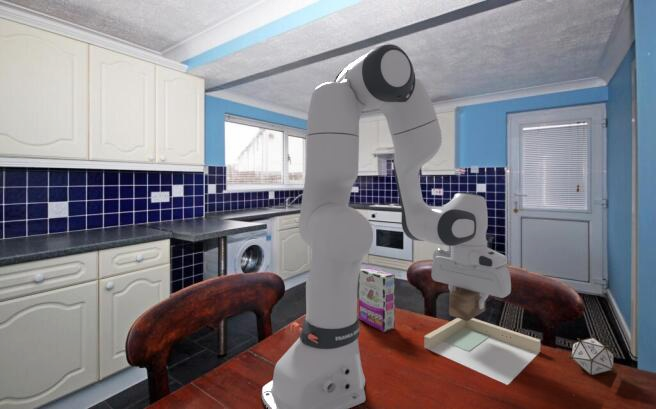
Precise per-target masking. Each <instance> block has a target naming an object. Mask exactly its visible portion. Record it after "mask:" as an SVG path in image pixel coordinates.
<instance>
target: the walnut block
mask: <svg viewBox="0 0 656 409" xmlns="http://www.w3.org/2000/svg"><path fill="white" fill-rule="evenodd" d="M448 295H449V300H448V301H449V302H448V304H449V305H448V306H449V308H448V315H449V316H451V317H454V318H455V319H456V318H459V319H462V320H465V321H469V320H470V319H472V318H474V319H475V317H477V316H479V315H481V314H482V313H484V312H485V311H486V302H487V299H486V300H485V301H484V308H483V309H479V308H476V307H475V305H476V304H475V301H477V300H480V299H481V298H482V297H481V296H480V292H476V291H472V290H468V289H465V288H461V287H458V288H456V290H455V291H453V292H450V291H449V294H448Z"/></svg>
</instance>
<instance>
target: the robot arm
mask: <svg viewBox="0 0 656 409" xmlns="http://www.w3.org/2000/svg"><path fill="white" fill-rule="evenodd" d="M377 109H378V110H379V111H380V112H381V113H382V114H383V116H384V117H385V119H386V122H387V125H388V131H389V134H390V137H391V140H392V145H393V151H394V156H393V159H392V160H393V163H392V164H393V166H392V167H393V174H394V179H395V183H396V188H397V192H398V197H399V202H400V208H401V209H400V210H401V227H402V231H403V234H405V235H406V237H407V238H409V239H410V240H413V241H419V242H427V243H432V244H434V245H435V244H436V245H440V246H446V247H450V250H448V249H441V248H438V249H436V250H435V251H433V252H432V267H431V279H432V280H433V281H434V282H438V283H442V284H445V285H448V286H447V287H448V291H449V293H450V292H453V291H455V290H457V288H465V289H468V290H472V291H476V292H480V296H481V297H482V298H481V299H480V300H477V301H475V304H476V305H475V307H476V308H479V309H483V308H484V301H485V300H486V301H487V299H488V298H489V296H493V297H496V298H500V299H503V298H505V297H508V296H509V295H510V294H511V291H512V282H511V279H512V278H511V274H510V273H511V272H510V269H509V268H508V267H507V266H506V264H508V256H506V255H504V254H502V253H500V252H498V251H496V250H494V249H492V248H490V247H488V240H487V230H488V226H489V225H488V223H489V222H488V221H489V220H488V206H487V201H486V199H485V197H484V196H482V195H480V194H477V193H470V192H458V193H455V194H454V195H453V197H452V199H451V200H450V201H449V202H447V203H446V204H443V205H442V206H433V205H428V204H427V203H426V202H425V201H424V198H423V194H422V187H421V182H420V178H419V174H420V170H421V168H422V167H423V166H424V165H425V164H427V163H428V162H429V161H431V160H432V159H433V158H434V157H435V156H436V155H437V153H438V152H439V150H440V149H441V146H442V143H443V141H442V138H443V137H442V130H441V127H440V126H441V125H440V123H439V119H438V115H437V114H436V113H437V112H436V110H435V108H434V104H433V102H432V98H431V96H430V95H429V92H428V91H427V89H426V87H425V85H424V83H423V82H422V81H421V80H420V79H418V78H416V73H415V71H414V65H413V63H412V61H411V59H410V58H409V56H408V54H407V53H406V52H405V50H403V49H402V48H401V47H400V46H398V45H397V44H390V43H389V44H384V45H383V44H382V45H380V46H379V45H378V46H377V47H375V48H372V49H371V50H370V51H368V52H367V53H365V54H363V55H362V56H360V57H358V58H356V59H354V60H353V61H352V62H351V63H350V64H348V66H346V67H345V68H344V69H343V70H341V71H340V72H339V73H338V74H337V75H336V77H335V78H334V81H329V82H324V83H321V84H320V85H318V86H317V87H316V88H315V89H314V90H313V92H312V94H311V97H310V102H309V107H308V112H307V113H308V114H307V122H306V142H305V143H306V145H305V146H306V147H305V148H306V150H305V154H306V155H305V177H304V185H303V191H302V197H301V205H300V213H299V218H298V221H297V222H298V224H297V225H298V231H299V234H300V237H301V238H302V240H303V241H304V243H306V245H308V246H309V247H310V250H311V262H310V266H309V267H310V268H309V274H308V277H307V279H306V281H305V300H306V301H305V303H306V304H305V305H306V306H305V308H306V310H305V311H306V315H305V317H304V321H303V322H302V324H299V323H298V322H296V321H294V322H292V323H291V325H290V327H289V328H290V331H291V332H292V333H294V334H295V335H299V336H298V337H299V338H297V340H296V341H295V342H294V343H292V345H291V346H290V348H289V349H288V350H287V351H286V352H285V353H284V354H283V355H282V356H281V358H279V360H277V362H276V364H275V366H274V370H273V376H272V380H271V381H269V382H267V383H266V384H265V385H264V386H262V389H261V400H262V402H263V404H264V406H265V405H266V406H265V408H267V407H268V409H350V408H351V409H352V408H353V407H356V406H358V405H360V404H362V403H365V401H366V391H365V385H366V378H365V375H364V374H365V373H364V372H363V366H362V361H361V354H360V347H359V339H358V338H359V337H360V331H361V330H360V329H361V328H360V327H361V326H360V320H359V314H358V286H359V273H360V269H362V263H363V259H364V257H365V256H366V255H367V254H368V253H369V251H370V250H371V248H372V245H373V242H374V232H373V231H374V230H373V227H372V225H371V223H370V221H369V220H368V218H366V217H365V216H364V215H363V214H362V213H361V212H360V211H358V210H357V209H355V208H354V207H351V206H349V204H350V203H349V202H350V199H351V198H350V197H351V195H352V194H351V193H352V190H353V187H354V184H355V182H356V180H357V178H358V176H359V161H360V160H359V158H360V154H359V152H360V119H361V116H362V113H365V112H367V111H370V110H373V111H374V110H377Z"/></svg>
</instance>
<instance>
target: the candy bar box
mask: <svg viewBox="0 0 656 409" xmlns="http://www.w3.org/2000/svg"><path fill="white" fill-rule="evenodd" d="M395 290H396V275H395V274H393V273H391V272H387V271H383V270H379V269H377V268H373V267H364V268H360V273H359V278H358V304H359V305H358V310H359V311H358V313H359V314H358V317H359V319H360V320H362V321H364V322H365V323H364V322H363V323H364V324H366V323H367V324H366V325H368V324H369V326H370V325H371V326H370V327H372V326H373V328H374V329H377V330H379V331H381V332H383V333H386V332H388V331H391V330H394V329H395V327H396V326H395V325H396V323H395V321H396V315H395V314H396V310H395V309H396V303H395V302H396V300H395V299H396V291H395ZM360 320H359V321H360ZM362 321H361V322H362Z"/></svg>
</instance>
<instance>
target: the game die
mask: <svg viewBox="0 0 656 409" xmlns="http://www.w3.org/2000/svg"><path fill="white" fill-rule="evenodd" d="M595 337H596V336H595V335H594V333H593V334H592V335H591V337H590V338H585V339H581V338H579V337H577V338H576V339H577V341H576V342H572V341H569V344H570V345H572V349H571V350H572V351H571V356H570V355H569V356H568V357H567V359H569V360H571V359H572V360H573V361H574V362H575V363H577V365H578V366H580V367H581V369H583V370H584V371H585V372H586V373H588V375H590V376H595V375H600V374H603V373H606V372H610V371H613V372H614V373H618V371H617V369H616V368H614V356H616V357H617V356H618V353H617V352H614V353H613V352H612V351H611V350H609V349H608V348H609V347H610V345H609V344H605V345H604V344H602V343H601V342H600V341H598V340H597V339H596V338H595Z"/></svg>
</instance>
